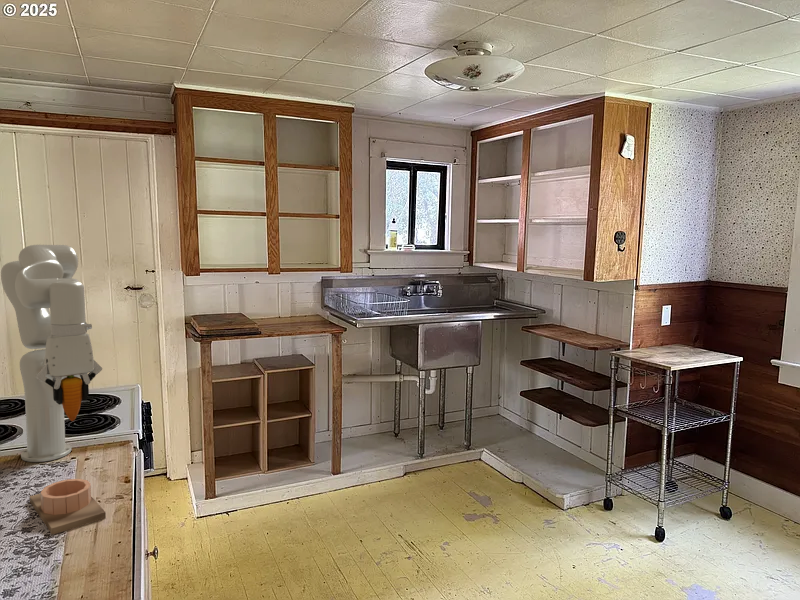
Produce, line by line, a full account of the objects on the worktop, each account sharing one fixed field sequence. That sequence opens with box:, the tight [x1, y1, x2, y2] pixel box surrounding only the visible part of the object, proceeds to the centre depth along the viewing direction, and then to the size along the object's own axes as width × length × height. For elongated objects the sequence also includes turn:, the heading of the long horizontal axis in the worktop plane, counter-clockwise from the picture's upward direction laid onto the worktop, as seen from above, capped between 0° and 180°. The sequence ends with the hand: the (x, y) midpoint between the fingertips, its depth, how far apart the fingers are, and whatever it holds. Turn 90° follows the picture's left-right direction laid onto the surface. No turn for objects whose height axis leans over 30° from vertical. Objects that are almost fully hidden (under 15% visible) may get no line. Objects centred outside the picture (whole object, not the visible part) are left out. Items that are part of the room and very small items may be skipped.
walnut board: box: [29, 492, 106, 536], centre depth 133 cm, size 20×11×2 cm, turn 45°
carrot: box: [60, 375, 83, 422], centre depth 140 cm, size 5×5×15 cm
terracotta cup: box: [40, 478, 92, 515], centre depth 133 cm, size 10×10×4 cm
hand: (71, 400), depth 140 cm, fingers closed on carrot, 4 cm apart
